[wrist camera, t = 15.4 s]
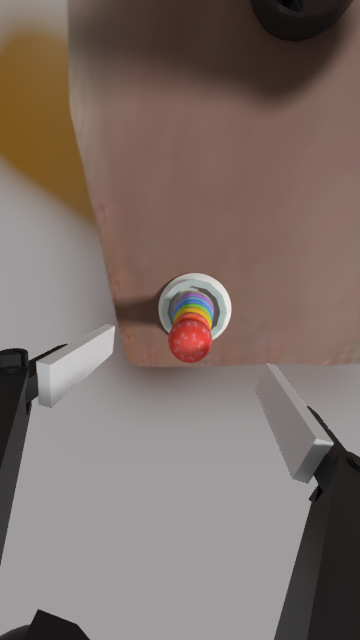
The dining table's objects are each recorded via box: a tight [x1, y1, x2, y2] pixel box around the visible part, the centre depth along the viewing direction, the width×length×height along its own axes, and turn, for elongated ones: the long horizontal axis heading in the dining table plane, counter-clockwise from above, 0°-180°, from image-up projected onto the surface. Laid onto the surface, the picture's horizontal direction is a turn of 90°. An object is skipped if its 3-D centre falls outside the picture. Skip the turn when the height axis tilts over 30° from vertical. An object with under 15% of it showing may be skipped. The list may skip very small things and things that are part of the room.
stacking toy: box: [168, 291, 214, 363], centre depth 26 cm, size 8×8×19 cm
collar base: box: [158, 273, 231, 340], centre depth 35 cm, size 15×15×3 cm
